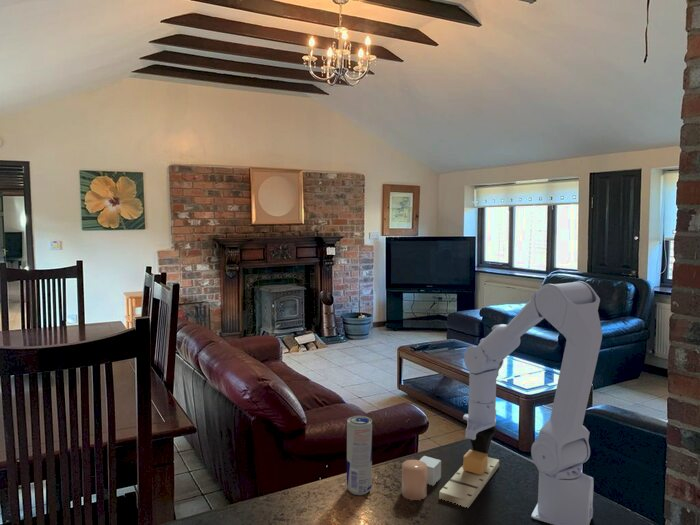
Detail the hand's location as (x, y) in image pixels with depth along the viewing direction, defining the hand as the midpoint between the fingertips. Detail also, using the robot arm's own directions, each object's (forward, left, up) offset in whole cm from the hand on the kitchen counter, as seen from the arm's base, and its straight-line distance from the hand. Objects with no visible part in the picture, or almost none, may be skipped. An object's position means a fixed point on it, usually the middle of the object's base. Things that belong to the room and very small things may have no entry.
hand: (480, 459), depth 114 cm
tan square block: (0, +3, -1) cm, 3 cm away
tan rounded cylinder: (+8, +17, -3) cm, 19 cm away
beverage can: (+18, +22, -3) cm, 28 cm away
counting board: (0, +6, -3) cm, 6 cm away
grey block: (+8, +10, -3) cm, 13 cm away
